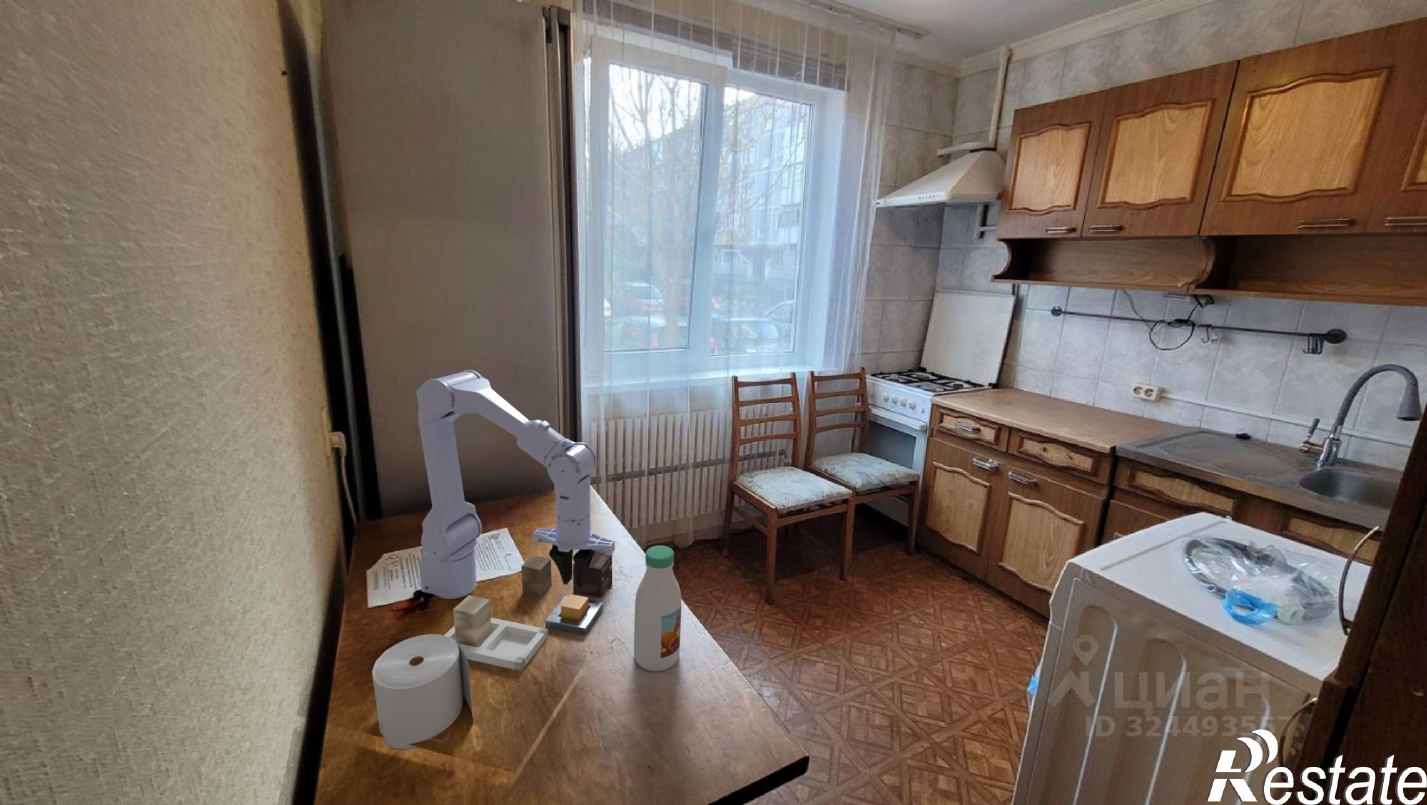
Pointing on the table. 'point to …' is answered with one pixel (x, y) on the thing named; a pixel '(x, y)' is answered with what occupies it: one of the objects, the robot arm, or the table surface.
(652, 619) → the milk bottle
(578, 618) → the button
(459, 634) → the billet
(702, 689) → the table surface
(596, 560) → the box
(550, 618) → the button housing
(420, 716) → the toilet tissue
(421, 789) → the table surface
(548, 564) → the block
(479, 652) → the light grey rectangular frame
